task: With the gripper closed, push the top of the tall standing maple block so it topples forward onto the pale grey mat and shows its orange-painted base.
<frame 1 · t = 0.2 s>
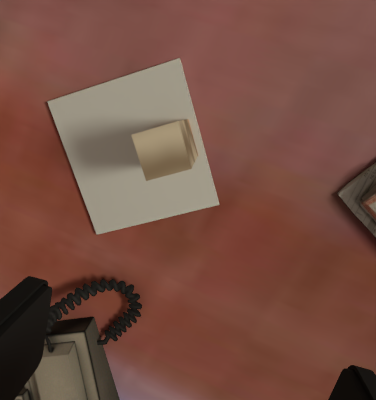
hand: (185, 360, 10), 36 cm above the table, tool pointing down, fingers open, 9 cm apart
fax machine: (42, 367, 58), on the table
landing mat: (135, 153, 45), on the table
maple block: (175, 142, 43), point 1 cm above the table, touching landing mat
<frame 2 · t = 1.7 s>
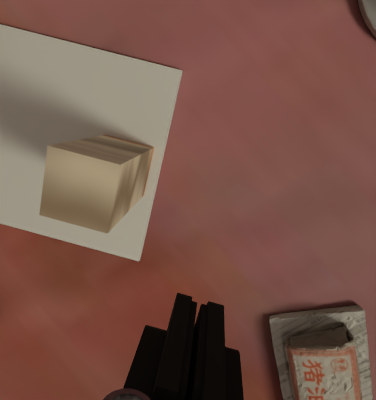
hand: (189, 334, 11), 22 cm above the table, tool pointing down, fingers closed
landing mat: (71, 149, 33), on the table
maple block: (125, 165, 32), point 1 cm above the table, touching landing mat
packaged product: (320, 371, 38), on the table
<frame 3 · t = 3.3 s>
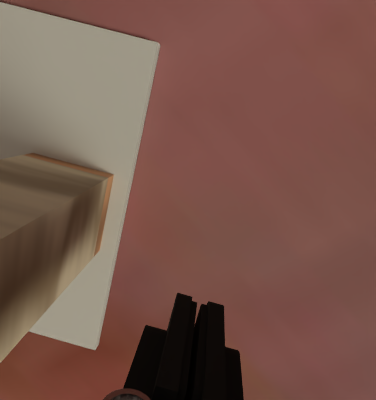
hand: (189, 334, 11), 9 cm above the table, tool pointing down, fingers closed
maple block: (67, 203, 19), point 1 cm above the table, touching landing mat
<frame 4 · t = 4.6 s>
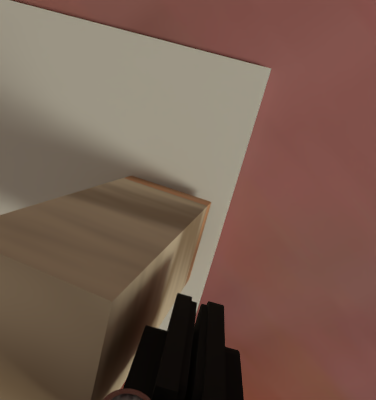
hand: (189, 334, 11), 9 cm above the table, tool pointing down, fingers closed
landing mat: (73, 196, 20), on the table
maple block: (160, 227, 19), point 1 cm above the table, tilted 11°, touching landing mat
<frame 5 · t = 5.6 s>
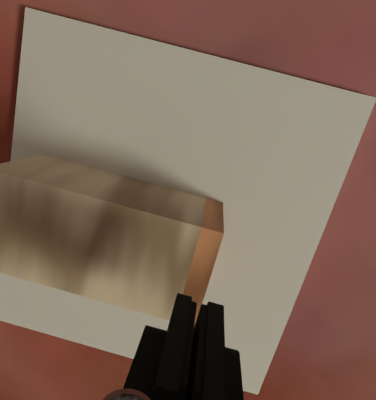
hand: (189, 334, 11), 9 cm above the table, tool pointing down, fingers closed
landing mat: (158, 222, 20), on the table
maple block: (210, 258, 17), point 3 cm above the table, tilted 90°, touching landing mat
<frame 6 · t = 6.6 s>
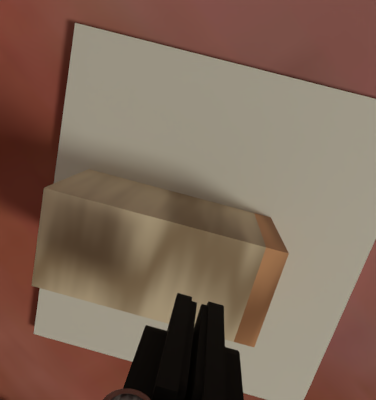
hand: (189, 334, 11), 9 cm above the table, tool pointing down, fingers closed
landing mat: (202, 236, 20), on the table
maple block: (263, 275, 17), point 3 cm above the table, tilted 90°, touching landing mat
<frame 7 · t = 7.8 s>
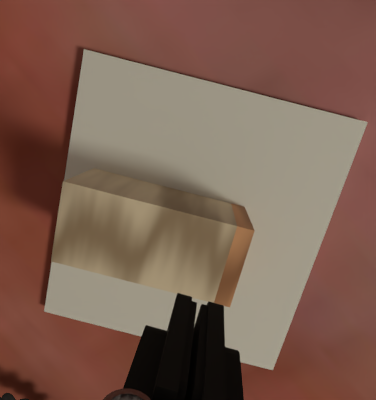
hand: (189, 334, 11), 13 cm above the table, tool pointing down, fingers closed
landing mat: (189, 224, 24), on the table
maple block: (237, 252, 21), point 3 cm above the table, tilted 90°, touching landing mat
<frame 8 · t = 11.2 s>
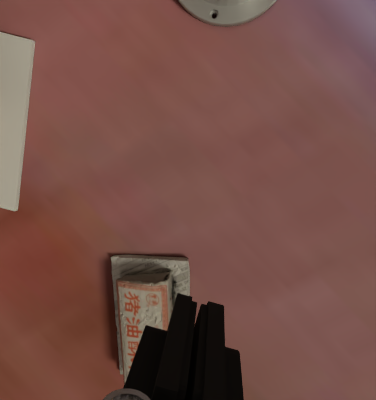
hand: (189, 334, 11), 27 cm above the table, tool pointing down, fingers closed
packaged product: (154, 314, 43), on the table
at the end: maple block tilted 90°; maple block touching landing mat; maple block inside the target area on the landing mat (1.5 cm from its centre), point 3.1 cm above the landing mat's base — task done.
